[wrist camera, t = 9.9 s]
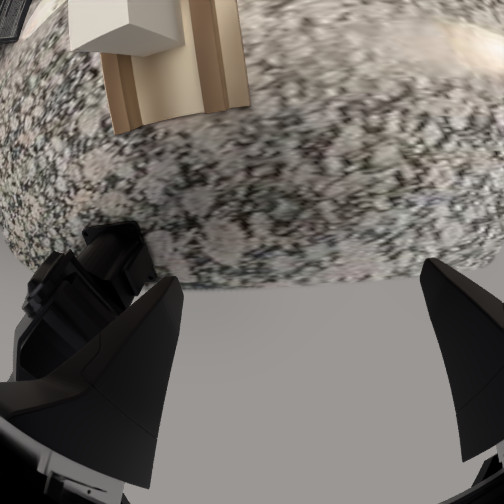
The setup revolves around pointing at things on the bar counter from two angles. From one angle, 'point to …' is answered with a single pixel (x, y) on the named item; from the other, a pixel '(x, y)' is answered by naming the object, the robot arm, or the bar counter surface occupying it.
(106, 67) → the floor track
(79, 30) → the door panel
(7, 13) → the small box
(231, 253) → the bar counter surface
